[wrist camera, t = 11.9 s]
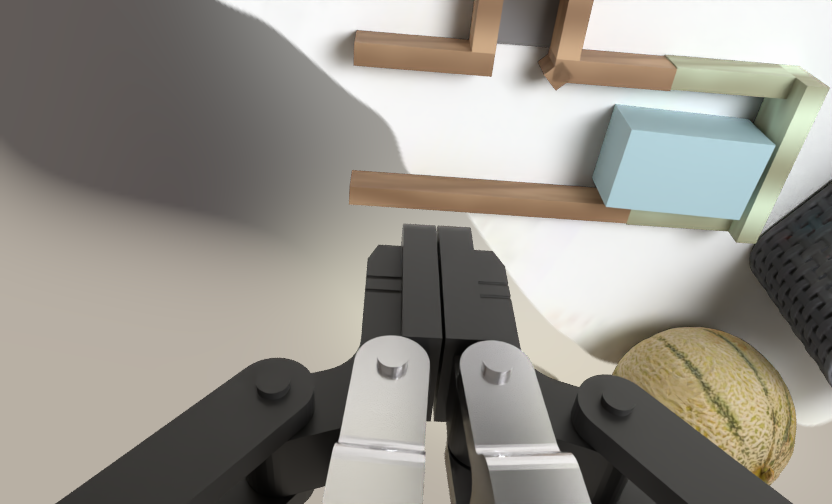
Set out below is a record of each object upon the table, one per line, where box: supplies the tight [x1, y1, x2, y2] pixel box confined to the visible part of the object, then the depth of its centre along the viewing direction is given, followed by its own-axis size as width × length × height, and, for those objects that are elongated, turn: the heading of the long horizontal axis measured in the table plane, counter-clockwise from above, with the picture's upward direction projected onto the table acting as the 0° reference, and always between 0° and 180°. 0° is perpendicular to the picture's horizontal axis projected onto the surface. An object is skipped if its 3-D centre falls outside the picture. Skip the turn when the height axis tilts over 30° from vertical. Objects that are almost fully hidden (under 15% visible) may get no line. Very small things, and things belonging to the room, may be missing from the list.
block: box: [592, 104, 776, 220], centre depth 47 cm, size 6×10×4 cm, turn 83°
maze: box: [349, 0, 830, 244], centre depth 43 cm, size 21×30×4 cm
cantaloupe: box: [612, 327, 796, 486], centre depth 55 cm, size 15×15×15 cm
